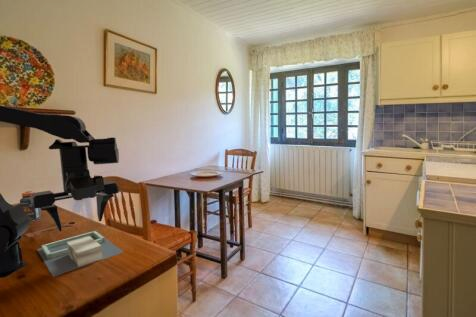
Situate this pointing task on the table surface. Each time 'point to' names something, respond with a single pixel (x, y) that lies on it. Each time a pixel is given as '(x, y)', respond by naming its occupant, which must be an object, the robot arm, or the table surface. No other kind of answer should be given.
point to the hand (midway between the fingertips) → (81, 225)
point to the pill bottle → (29, 206)
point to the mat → (67, 264)
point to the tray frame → (65, 251)
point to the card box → (84, 251)
